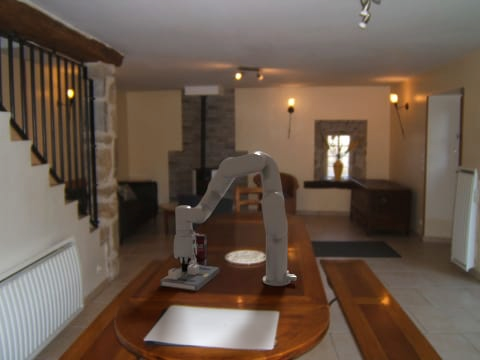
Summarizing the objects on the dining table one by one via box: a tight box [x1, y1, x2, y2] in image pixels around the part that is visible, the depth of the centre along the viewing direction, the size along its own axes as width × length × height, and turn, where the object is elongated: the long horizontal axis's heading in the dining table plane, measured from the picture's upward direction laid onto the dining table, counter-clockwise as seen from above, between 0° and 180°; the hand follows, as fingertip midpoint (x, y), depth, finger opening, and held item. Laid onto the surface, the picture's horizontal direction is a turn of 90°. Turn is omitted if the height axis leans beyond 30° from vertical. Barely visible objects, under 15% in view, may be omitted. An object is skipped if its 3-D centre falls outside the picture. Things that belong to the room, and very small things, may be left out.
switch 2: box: [189, 259, 197, 265], centre depth 199 cm, size 4×4×4 cm
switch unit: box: [159, 265, 220, 292], centre depth 190 cm, size 18×24×3 cm
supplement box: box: [193, 232, 208, 266], centre depth 209 cm, size 9×5×16 cm, turn 78°
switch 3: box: [188, 264, 199, 275], centre depth 189 cm, size 4×4×4 cm
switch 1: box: [167, 267, 181, 280], centre depth 184 cm, size 4×4×4 cm
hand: (185, 271), depth 191 cm, fingers closed
